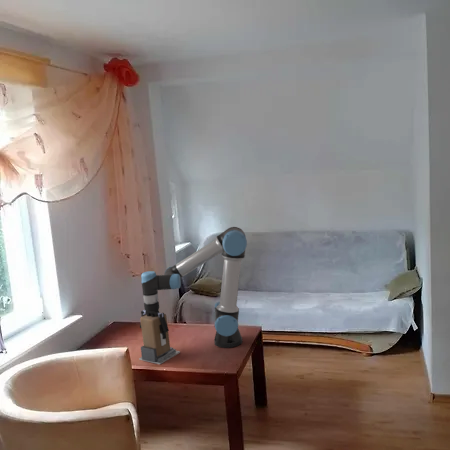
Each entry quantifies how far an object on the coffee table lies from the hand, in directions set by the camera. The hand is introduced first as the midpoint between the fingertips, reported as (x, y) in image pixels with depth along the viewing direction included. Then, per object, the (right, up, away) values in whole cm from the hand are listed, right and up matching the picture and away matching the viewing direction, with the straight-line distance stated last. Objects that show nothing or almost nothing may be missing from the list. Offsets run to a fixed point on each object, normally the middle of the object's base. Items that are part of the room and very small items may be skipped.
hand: (155, 343), depth 281 cm
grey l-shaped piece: (+2, -7, +3) cm, 8 cm away
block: (+1, -5, +1) cm, 5 cm away
